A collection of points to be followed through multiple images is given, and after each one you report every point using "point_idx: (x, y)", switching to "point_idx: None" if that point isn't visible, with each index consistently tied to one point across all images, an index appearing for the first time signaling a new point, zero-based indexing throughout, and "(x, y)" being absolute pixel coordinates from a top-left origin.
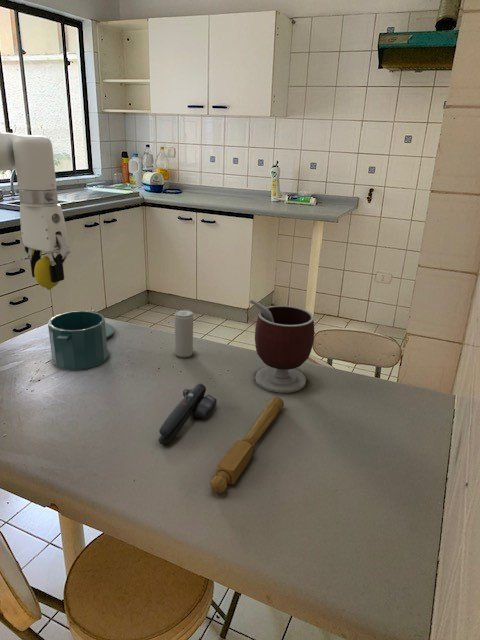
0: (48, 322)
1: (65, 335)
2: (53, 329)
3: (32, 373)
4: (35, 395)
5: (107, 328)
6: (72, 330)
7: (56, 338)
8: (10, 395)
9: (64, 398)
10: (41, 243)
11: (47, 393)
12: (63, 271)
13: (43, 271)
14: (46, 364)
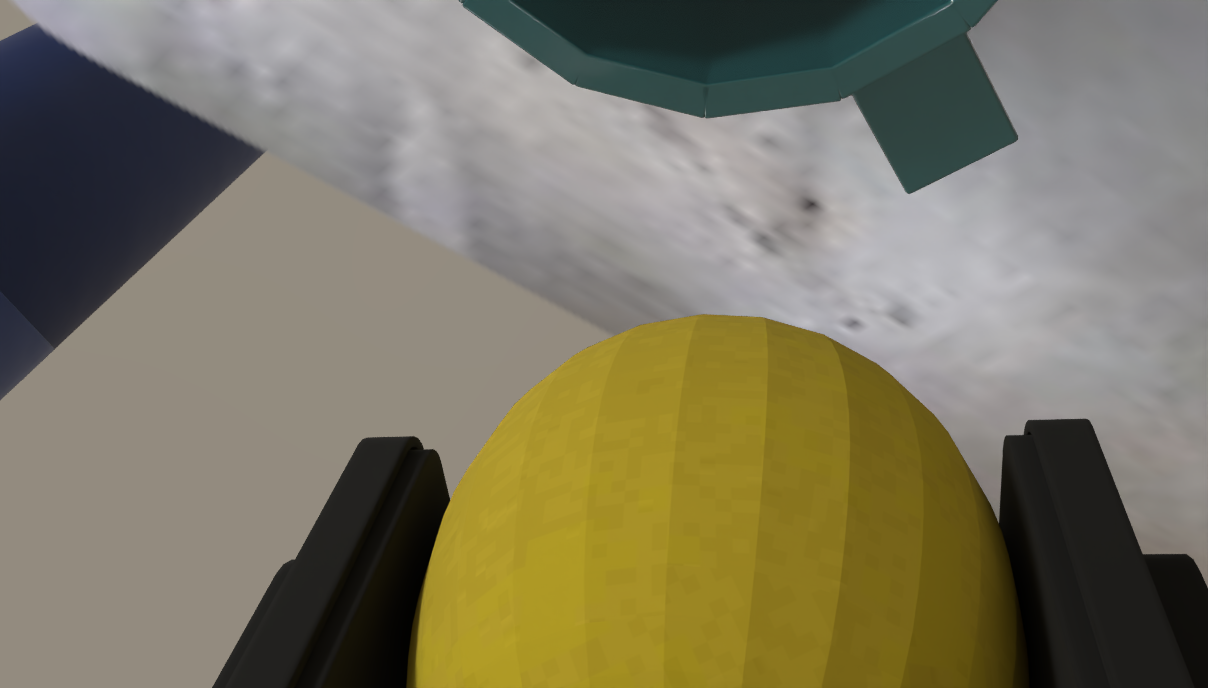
0: (511, 39)
1: (940, 92)
2: (727, 114)
3: (670, 175)
4: (972, 339)
5: None
6: (965, 3)
7: (908, 191)
8: None
9: (1196, 252)
10: None
11: (1024, 279)
12: (1133, 541)
13: None
14: None
